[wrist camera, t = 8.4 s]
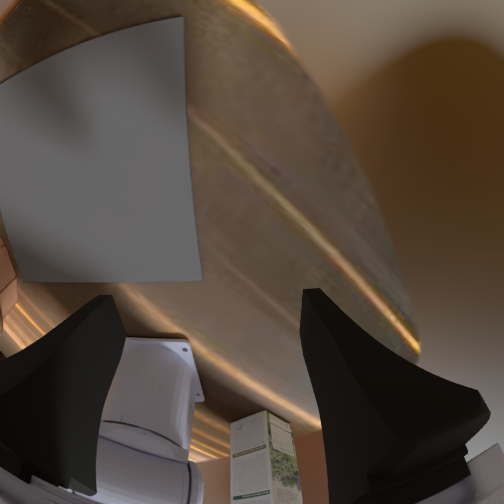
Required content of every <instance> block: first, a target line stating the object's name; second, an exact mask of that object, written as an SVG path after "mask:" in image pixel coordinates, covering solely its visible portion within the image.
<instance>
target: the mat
mask: <svg viewBox="0 0 504 504" xmlns="http://www.w3.org/2000/svg"><path fill="white" fill-rule="evenodd" d="M0 210H1V214H2V218H3V222H4V226H5V229H6V233H7V236H8V239H9V243H10V246H11V249H12V252H13V255H14V258H15V261H16V263H17V266H18V269H19V272H20V274H21V277H22V279H23V282H73V283H100V282H171V281H202V280H203V272H202V264H201V256H200V249H199V240H198V232H197V223H196V214H195V205H194V195H193V184H192V173H191V161H190V148H189V134H188V118H187V99H186V73H185V18H184V17H177V18H171V19H165V20H160V21H156V22H151V23H146V24H142V25H138V26H134V27H130V28H127V29H123V30H120V31H116V32H113V33H110V34H107V35H104V36H101V37H98V38H95V39H92V40H89V41H87V42H84V43H81V44H79V45H76V46H74V47H71V48H69V49H67V50H64V51H62V52H60V53H57V54H55V55H53V56H51V57H49V58H47V59H45V60H43V61H41V62H39V63H37V64H35V65H33V66H31V67H29V68H27V69H25V70H24V71H22V72H20V73H18V74H17V75H15V76H13V77H12V78H10V79H8V80H7V81H5V82H3V83H2V84H0Z"/></svg>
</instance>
